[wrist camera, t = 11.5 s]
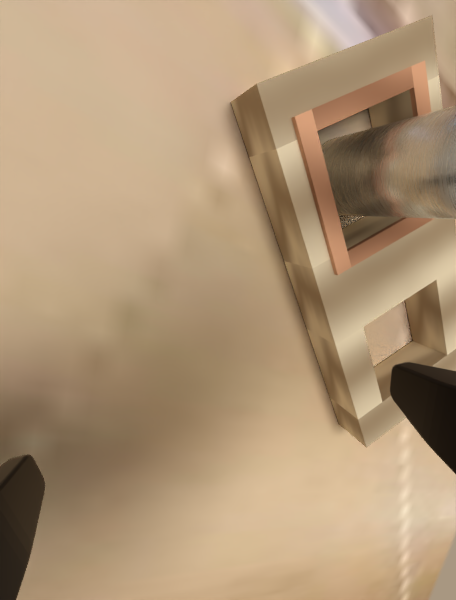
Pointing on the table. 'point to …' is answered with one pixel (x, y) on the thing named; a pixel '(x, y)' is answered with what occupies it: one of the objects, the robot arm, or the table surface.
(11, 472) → the robot arm
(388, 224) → the socket board
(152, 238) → the table surface
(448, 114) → the silver metal cylinder
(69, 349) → the table surface
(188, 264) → the table surface
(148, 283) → the table surface
